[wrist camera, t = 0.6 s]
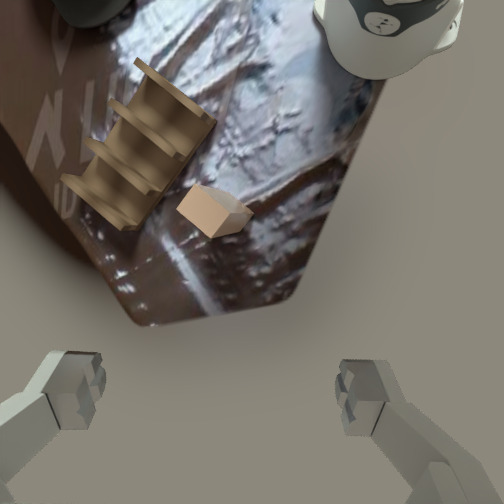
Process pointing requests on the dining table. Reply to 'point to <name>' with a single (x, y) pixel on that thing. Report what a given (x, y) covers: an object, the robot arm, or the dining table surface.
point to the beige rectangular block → (214, 211)
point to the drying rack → (141, 152)
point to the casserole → (90, 11)
